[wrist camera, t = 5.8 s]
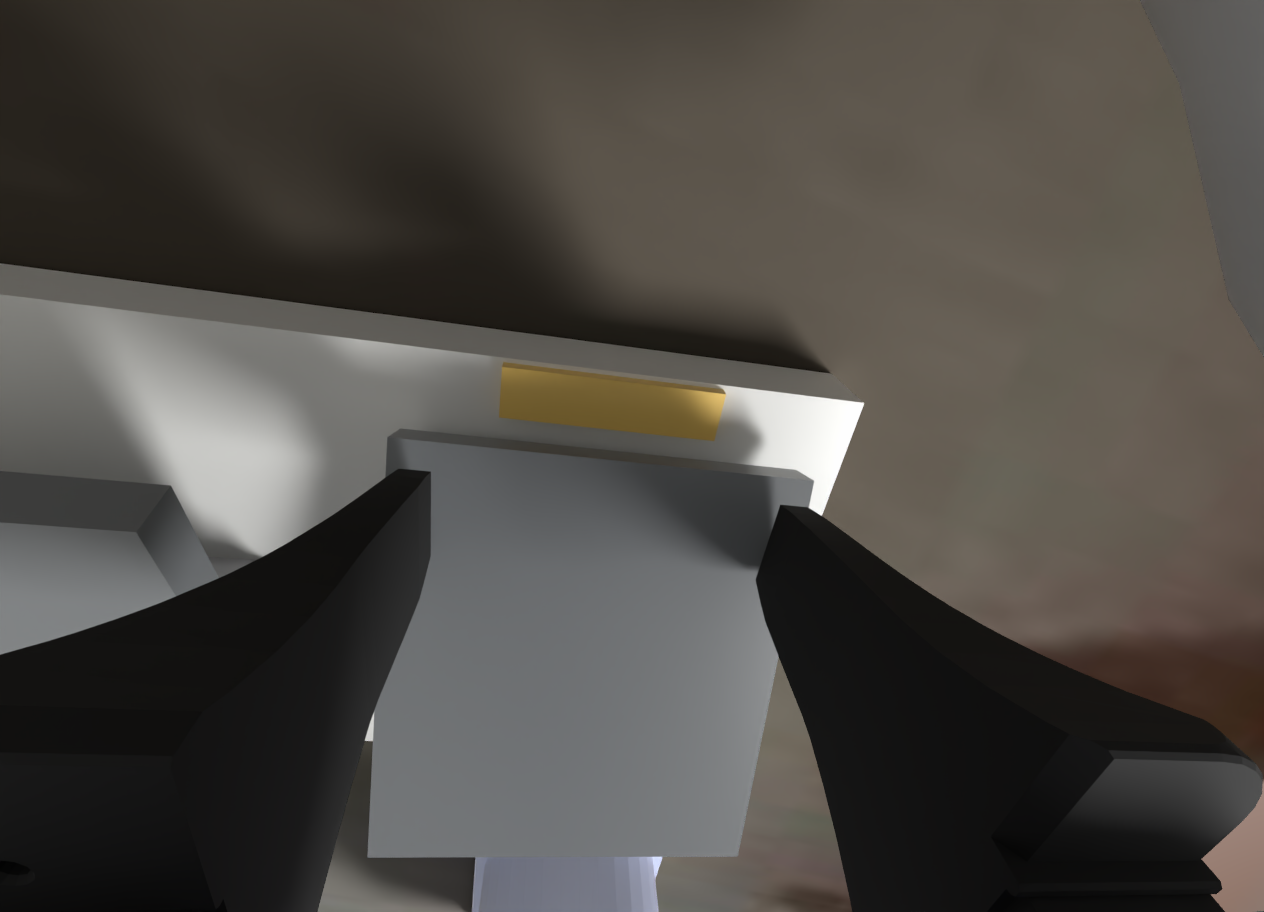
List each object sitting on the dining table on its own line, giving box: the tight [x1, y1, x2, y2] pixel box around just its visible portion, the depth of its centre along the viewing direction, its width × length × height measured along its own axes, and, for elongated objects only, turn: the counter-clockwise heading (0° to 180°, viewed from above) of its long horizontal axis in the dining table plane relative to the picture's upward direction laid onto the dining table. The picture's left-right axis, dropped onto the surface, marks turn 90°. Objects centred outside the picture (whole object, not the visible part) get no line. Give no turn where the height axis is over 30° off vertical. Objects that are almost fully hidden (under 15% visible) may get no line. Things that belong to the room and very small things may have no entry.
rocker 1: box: [0, 471, 219, 654], centre depth 12 cm, size 10×10×2 cm
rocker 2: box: [367, 428, 814, 858], centre depth 14 cm, size 10×10×2 cm
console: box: [0, 263, 864, 741], centre depth 15 cm, size 13×24×3 cm, turn 81°
